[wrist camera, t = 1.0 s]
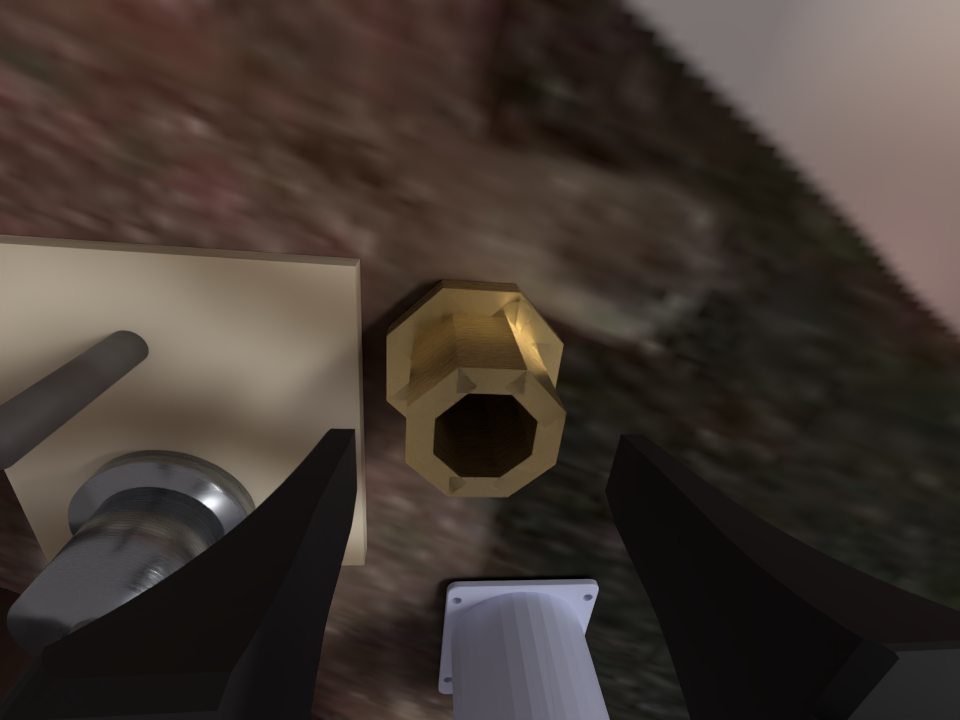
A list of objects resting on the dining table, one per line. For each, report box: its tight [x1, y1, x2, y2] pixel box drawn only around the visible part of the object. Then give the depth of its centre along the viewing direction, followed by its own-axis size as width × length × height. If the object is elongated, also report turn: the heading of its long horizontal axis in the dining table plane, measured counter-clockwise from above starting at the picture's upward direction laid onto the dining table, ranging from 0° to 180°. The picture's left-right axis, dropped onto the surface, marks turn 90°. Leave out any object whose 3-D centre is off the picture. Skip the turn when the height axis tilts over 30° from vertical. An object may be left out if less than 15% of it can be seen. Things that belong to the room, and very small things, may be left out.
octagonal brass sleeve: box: [387, 279, 566, 497], centre depth 16 cm, size 6×6×5 cm
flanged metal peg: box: [7, 450, 256, 658], centre depth 16 cm, size 6×6×5 cm
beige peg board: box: [0, 235, 367, 634], centre depth 15 cm, size 14×13×6 cm
